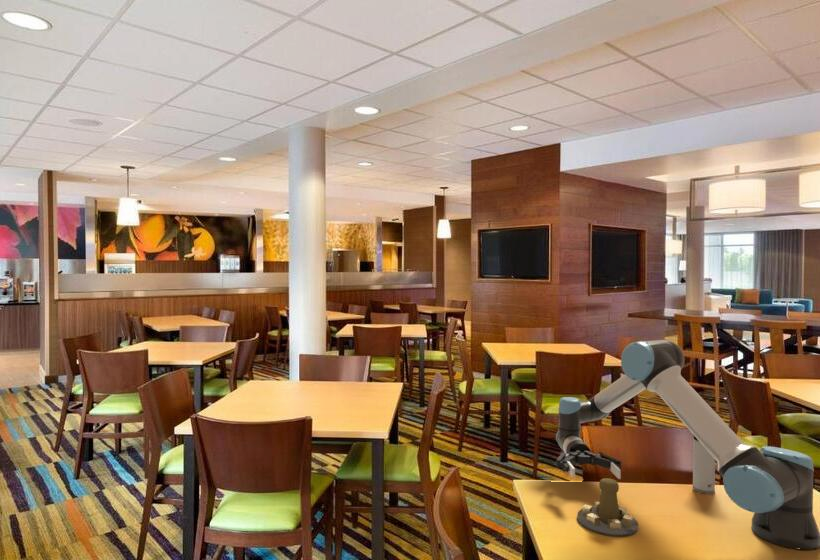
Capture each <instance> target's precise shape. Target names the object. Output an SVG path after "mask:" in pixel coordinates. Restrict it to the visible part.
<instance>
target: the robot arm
mask: <svg viewBox="0 0 820 560" xmlns="http://www.w3.org/2000/svg"><path fill="white" fill-rule="evenodd" d="M620 360H621V361H620V366H621V369H622V372H623V373H624V375H622V376H621V377H619V378H618V379H616V380H615V381H613V382H612V383H611V384H610V385H608V386H606V387H605V388H604V389H602V390H601V391H599V392H598V393H597V394H595V395H593V396H592V397H591V398H590V399H588V400H580V399H579V398H577V397H572V396H564V397H561V398H560V399H559V403H558V431H557V432H556V435H555V440H556V442H557V444H558V447H560V449H561V451H560V455H559V456H558V457H557V459H556V461H555V463H556V465H555V466H556V468H557V469H561V468H562V472H564V473H565V472H568V474H569V475H570V477H571V478H573V479H575V478H576V468H575V467H574V465H575V466H576V465H577V466H583V465H591V466H600V467H603V468H606V469H609V470H610V472H611V473H612V474H613V475H614V476H615V477H616V478H617V480H621V478H622V477H621V472H622V471H621V470H622V461H621V460H619V459H617V458H613V457H611V456H609V455H606V454H604V453H603V452H601V451H599V452H598V453H597V454H596V453H593V452H592V451H591V449H590V447H589V446H588V445H587V444H586V443H585V441H583V439H582V438H581V424H582V423H588V422H593V421H600V420H604V419H606V418H607V417H609V415H610V414H611V412H612V411H614V410H615V409H616V408H618V407H620V406H622V405H623V404H625V403H626V402H629V400H631V399H632V398H634V397H636V396H637V395H638V394H640V393H641V392H643V391H645V390H647V391H648V392H652V393H656V394H657V395H658V396H659V397H660V398H661V399H662V400H663V401H664V403H665V404H666V405H667V406H668V407H669V408H670V409H671V411H672V412H673V413H674V414H675V416H676V417H677V418H678V419H679V420H680V421H681V423H683V424H684V426H685V427H686V428H687V429H688V430H689V431H690V433H691V434H692V436H693V437H694V436H695V437H696V438H697V439H698V440H699V442H700V443H701V444H702V445H703V446H704V447H705V448H706V450H707V451H708V452H709V453H710V454H711V455H712V457H713V458H714V459H715V462H716V463H717V469H716V470H717V472H718V474H719V475H720V476H721V477H722V479H723V480H722V483H723V488H724V491H725V493H726V495H727V497H728V498H729V499H730V500H731V501H732V502H733V503H734V504H735V505H736V506H738V507H739V508H741V509H743V510H744V511H747V512H751V513H753V515H752V518H751V530H752V532H753V533H754V534H756V535H757V537H760V538H761V539H763V540H765V541H767V542H770V543H772V544H775V545H778V546H781V547H784V546H785V547H786V548H788V547H790V548H789V549H793V548H800V549H813V550H816V549H815V548H817V549H819V548H820V530H819V527H818V525H817V521H816V518H815V516H814V514H813V513H814V511H813V509H814V507H813V505H814V503H813V502H814V472H815V469H814V461H813V459H812V458H811V456H809V455H808V454H805V453H802V452H799V451H795V450H791V449H786V448H782V447H777V446H765V445H764V446H761V447H760V449H758V447H757V446H755V445H749V444H747V443H745V442H744V441H743V440H742V439H741V438H740V437H739V436H738V435H737V434H736V433H735V431H733V430H732V428H730V427H729V425H728V424H727V422H725V421H724V420H723V418H721V417H720V416H719V415H718V413H717V412H716V411H715V410H714V409H713V408H712V407H711V406H710V405H709V404H708V402H706V401H705V400H704V398H702V396H701V395H700V394H699V393H698V392H697V391H696V390H695V388H694V387H692V386H691V385H690V383H688V381H687V380H686V379H685V377H683V376H682V375H681V373H682V372H681V371H682V369H683V367H684V365H685V360H686V359H685V355H684V351H683V350H682V348H681V347H680V346H679V345H678V344H677V343H676V342H674V341H671V340H668V339H653V340H637V341H635V342H632V343H629V344H628V345H626V346H625V348H624V349H623V351H622V353H621V355H620ZM818 547H819V548H818ZM800 549H799V550H800Z"/></svg>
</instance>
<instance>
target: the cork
mask: <svg viewBox="0 0 820 560" xmlns="http://www.w3.org/2000/svg"><path fill="white" fill-rule="evenodd" d="M598 487H599V489H600V496H599V502H600V503H599V509H598V516H599V517H600V520H601V521H603V522H606V523H608V519H618V520H619V521H620V516H619V508H618V506H619V501H618V492H619V490H620V486H619V483H618V481H617V480H615V479H612V478H610V477H609V478H608V477H606V478H602V479H600V480H599V485H598Z"/></svg>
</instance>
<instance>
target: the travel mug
mask: <svg viewBox="0 0 820 560" xmlns="http://www.w3.org/2000/svg"><path fill="white" fill-rule="evenodd" d="M692 440H693V441H692V442H693V445H692V446H693V447H692V456H693V457H692V489H693V490H694V491H695V492H697V493H699V494H703V495H713V494H715V492H716V488H715V487H716V460H715V459H714V458H713V457H712V455H711V454H710V453H709V452H708V451H707V450H706V448H705V447H704V446H703V445H702V444H701V443H700V442H699V440H698V439H697V438H696V437H695V436H694V435H693V438H692Z"/></svg>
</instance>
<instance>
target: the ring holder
mask: <svg viewBox="0 0 820 560" xmlns="http://www.w3.org/2000/svg"><path fill="white" fill-rule="evenodd" d="M599 503H600V501H594V506H593V505H589V504H584V505H583V506H582V508H581V509H579V510H578V512H577V521H578V523H579V524H580V525H581V526H582V527H584V528H586V529H587V530H589V531H591V532H592V533H593V532H594V533H596V534H600V535H603V536H607V537H616V538H617V537H621V538H623V537H629V536H632V535H634V534H636V533H637V532H638V530H639V523H638V520H637V519H636V518H635V517H633V515H631V514H629V513H628V508H625V507H623V506H621V505H618V508H619V516H620V521H619V520H618V519H608V523H606V522H603V521H601V520H600V517H599V516H598V509H599Z"/></svg>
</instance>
